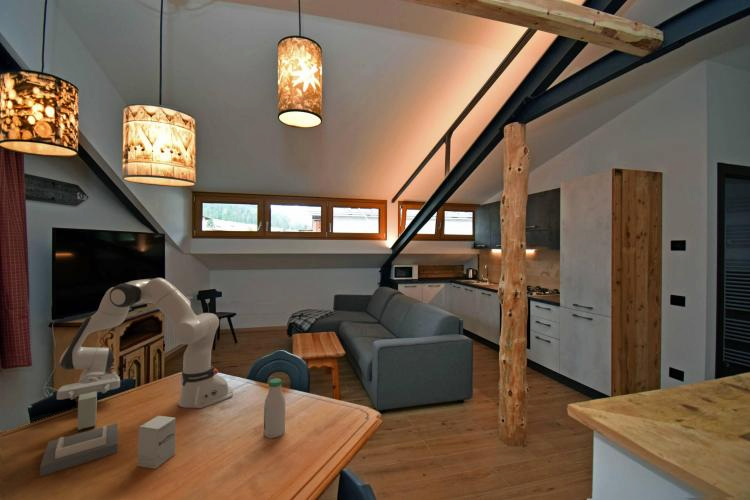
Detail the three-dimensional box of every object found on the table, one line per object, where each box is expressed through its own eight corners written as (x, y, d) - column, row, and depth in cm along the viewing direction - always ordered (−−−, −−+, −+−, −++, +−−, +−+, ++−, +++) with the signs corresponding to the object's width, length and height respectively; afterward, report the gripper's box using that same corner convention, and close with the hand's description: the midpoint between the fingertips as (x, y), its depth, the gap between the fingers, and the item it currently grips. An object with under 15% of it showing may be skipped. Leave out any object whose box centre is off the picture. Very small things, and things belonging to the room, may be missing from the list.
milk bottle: (289, 430, 119) (290, 378, 119) (274, 441, 112) (275, 386, 112) (273, 425, 122) (274, 374, 123) (259, 435, 115) (260, 382, 116)
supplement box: (156, 469, 97) (157, 429, 97) (136, 466, 98) (137, 426, 98) (175, 454, 104) (176, 417, 104) (157, 451, 105) (158, 414, 105)
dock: (117, 431, 117) (117, 416, 117) (117, 452, 104) (117, 436, 105) (48, 450, 105) (49, 434, 105) (39, 476, 93) (40, 458, 93)
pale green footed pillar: (96, 421, 123) (96, 391, 123) (95, 427, 119) (96, 396, 119) (78, 425, 120) (79, 394, 120) (77, 432, 115) (78, 400, 116)
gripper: (58, 381, 133) (53, 393, 122) (120, 370, 146) (120, 380, 135) (58, 396, 133) (53, 409, 122) (119, 384, 146) (119, 394, 135)
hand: (89, 394), depth 129 cm, fingers open, 8 cm apart
